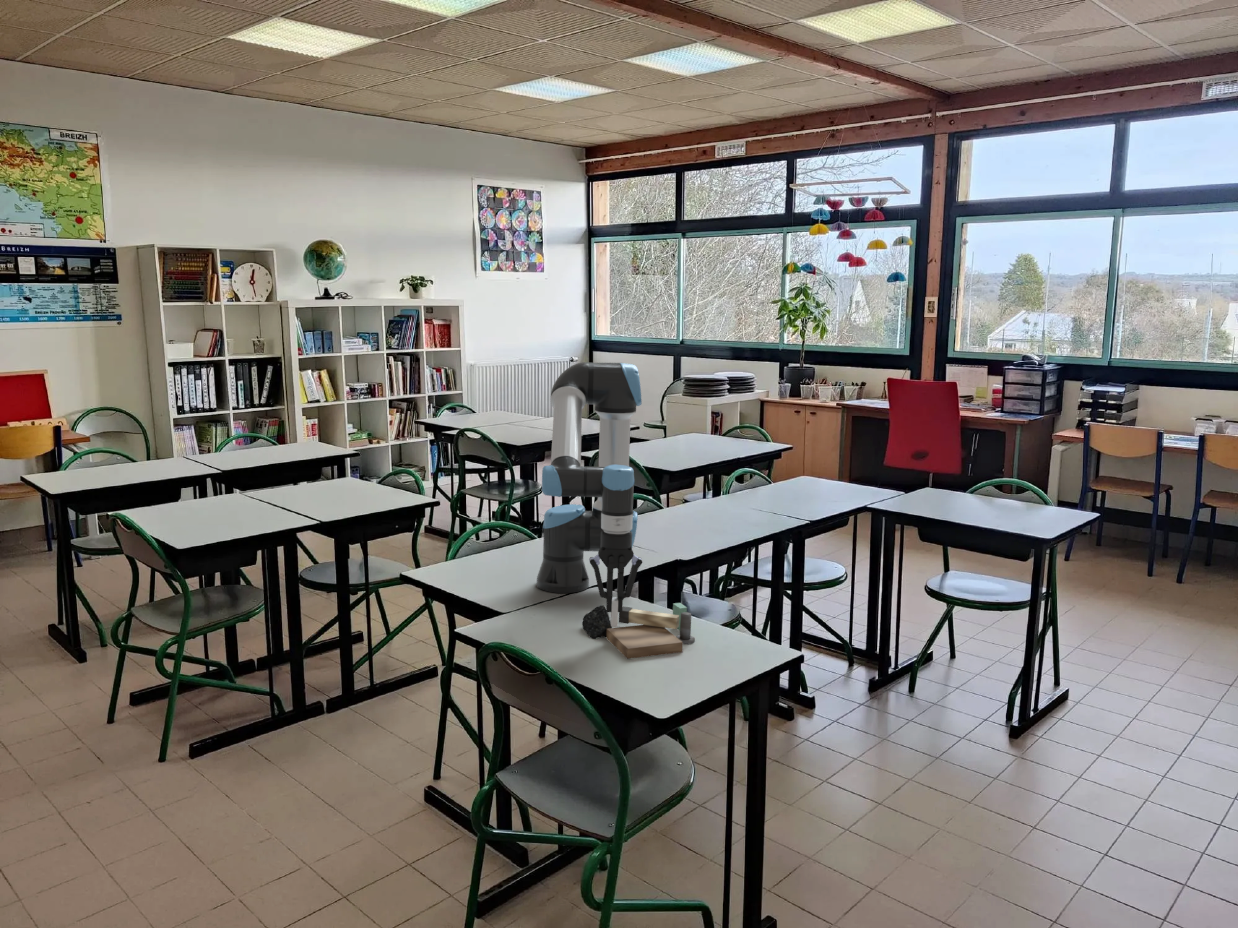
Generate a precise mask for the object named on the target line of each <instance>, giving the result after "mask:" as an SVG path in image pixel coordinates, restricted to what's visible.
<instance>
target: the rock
mask: <svg viewBox="0 0 1238 928" xmlns="http://www.w3.org/2000/svg"><path fill="white" fill-rule="evenodd" d="M581 625H582V629H583V630H584V632H586V634H588V636H589V638H590V639H592V640H596V639H598V638H606V633H607V629H608V628H613V626H612V627H611V623H610V616H609V612H607V609H606V605H603V604H601V605H598V606H596V607H594V608H593V609H592V610H590V611H588V612H587V613H586V614H585V615H584V616H583V618H582V623H581Z"/></svg>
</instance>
